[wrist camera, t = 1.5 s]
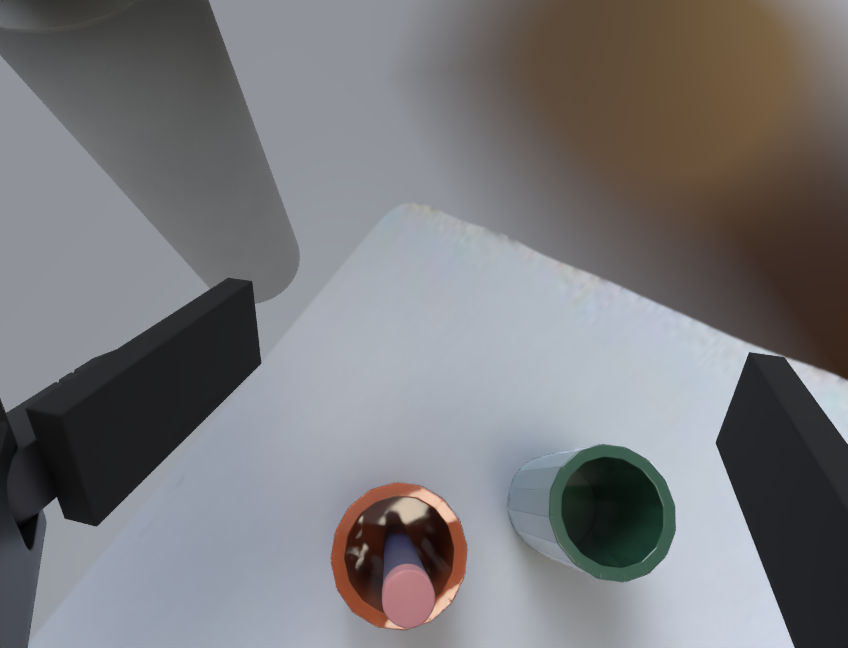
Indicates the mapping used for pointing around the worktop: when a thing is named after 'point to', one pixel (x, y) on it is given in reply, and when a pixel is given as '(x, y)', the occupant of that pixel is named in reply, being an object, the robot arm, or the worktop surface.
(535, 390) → the worktop surface
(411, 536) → the terracotta cup
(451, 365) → the worktop surface
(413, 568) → the pencil
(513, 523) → the green cup
